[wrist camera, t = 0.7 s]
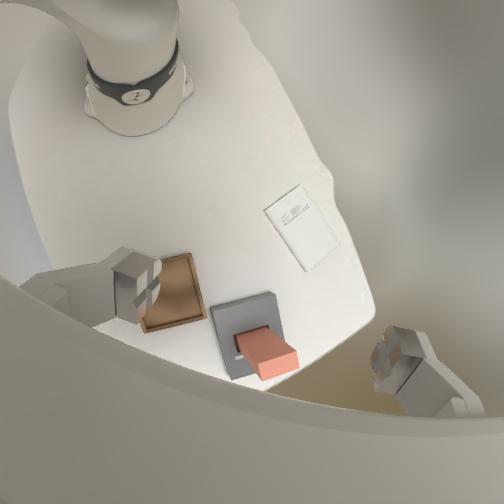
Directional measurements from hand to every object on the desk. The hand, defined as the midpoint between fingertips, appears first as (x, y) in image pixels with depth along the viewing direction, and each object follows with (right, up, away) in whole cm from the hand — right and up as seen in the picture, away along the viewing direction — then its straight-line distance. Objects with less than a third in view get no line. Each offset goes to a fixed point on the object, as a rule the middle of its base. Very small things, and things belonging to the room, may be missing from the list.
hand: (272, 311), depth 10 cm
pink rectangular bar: (-1, -11, +38) cm, 39 cm away
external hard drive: (+8, +6, +40) cm, 42 cm away
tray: (-14, -4, +34) cm, 37 cm away
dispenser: (-1, -11, +37) cm, 39 cm away
